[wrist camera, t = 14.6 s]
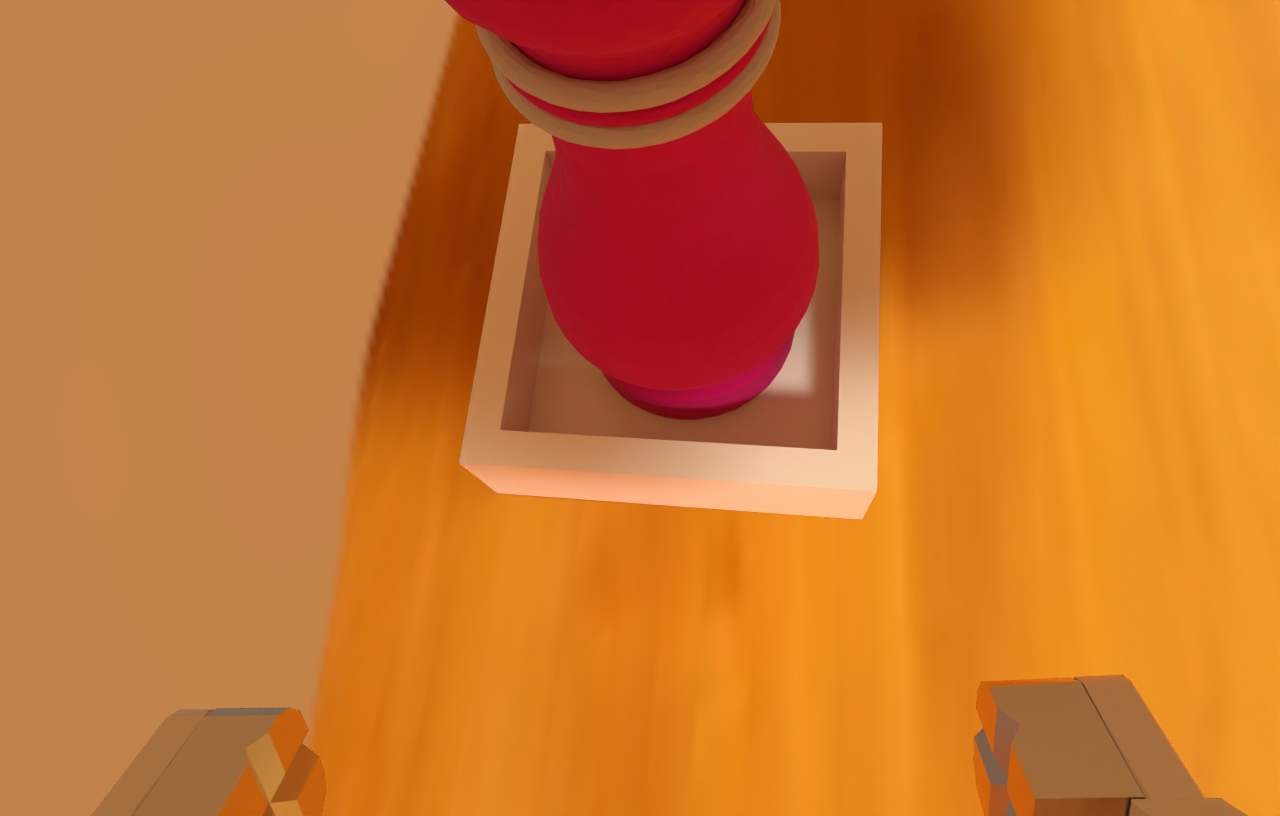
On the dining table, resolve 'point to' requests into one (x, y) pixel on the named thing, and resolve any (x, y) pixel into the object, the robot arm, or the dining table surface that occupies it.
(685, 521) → the dining table surface
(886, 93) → the dining table surface
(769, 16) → the pepper mill
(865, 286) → the mill holder
